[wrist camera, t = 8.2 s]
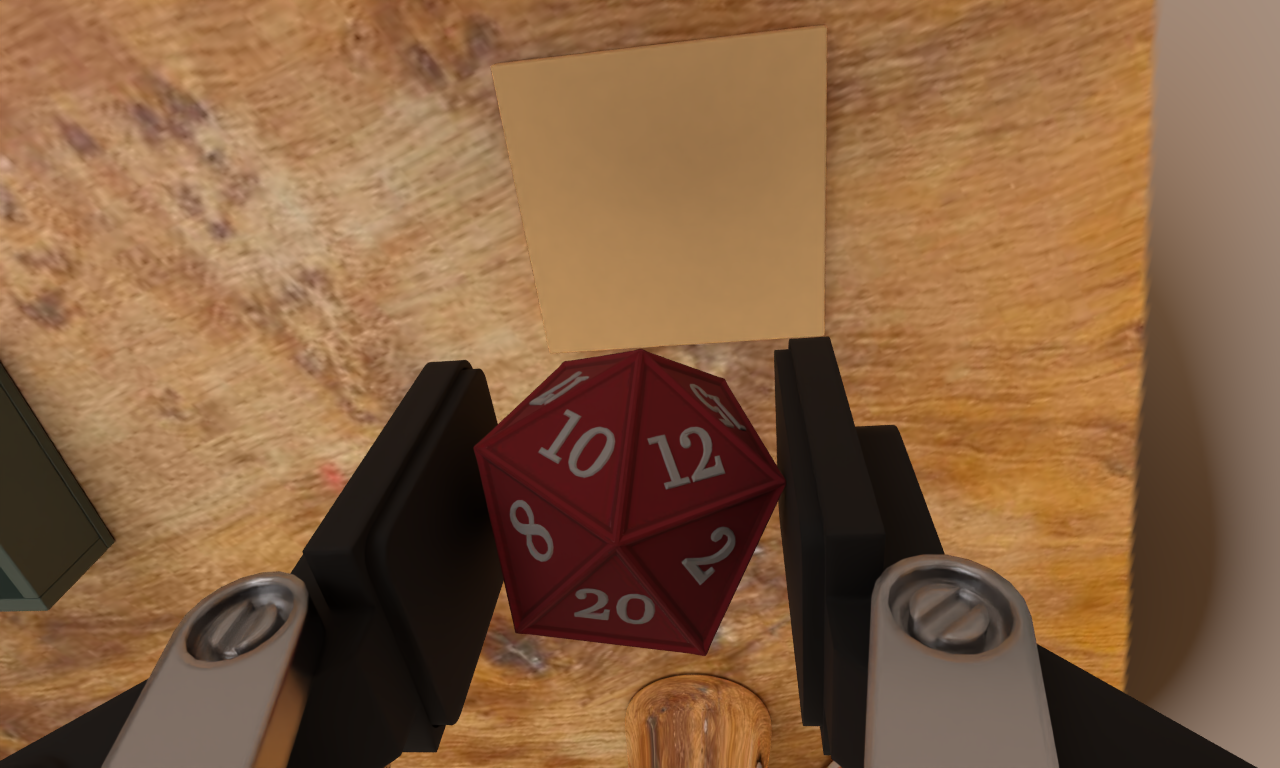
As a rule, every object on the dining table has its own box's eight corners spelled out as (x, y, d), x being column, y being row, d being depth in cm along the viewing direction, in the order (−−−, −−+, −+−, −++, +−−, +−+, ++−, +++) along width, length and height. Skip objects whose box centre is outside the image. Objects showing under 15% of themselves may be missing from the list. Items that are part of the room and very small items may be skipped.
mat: (494, 63, 18) (490, 66, 18) (825, 24, 17) (827, 26, 17) (551, 347, 22) (549, 354, 22) (823, 330, 21) (824, 336, 21)
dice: (523, 507, 13) (454, 716, 9) (520, 267, 11) (428, 429, 7) (740, 533, 13) (750, 752, 9) (787, 294, 10) (823, 472, 7)
